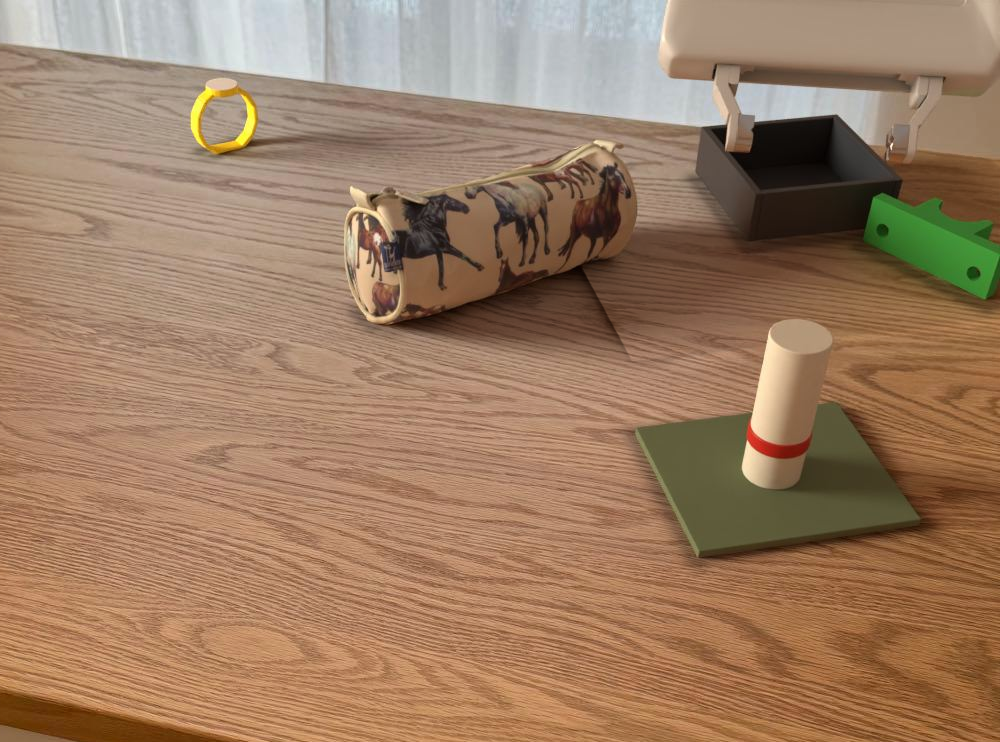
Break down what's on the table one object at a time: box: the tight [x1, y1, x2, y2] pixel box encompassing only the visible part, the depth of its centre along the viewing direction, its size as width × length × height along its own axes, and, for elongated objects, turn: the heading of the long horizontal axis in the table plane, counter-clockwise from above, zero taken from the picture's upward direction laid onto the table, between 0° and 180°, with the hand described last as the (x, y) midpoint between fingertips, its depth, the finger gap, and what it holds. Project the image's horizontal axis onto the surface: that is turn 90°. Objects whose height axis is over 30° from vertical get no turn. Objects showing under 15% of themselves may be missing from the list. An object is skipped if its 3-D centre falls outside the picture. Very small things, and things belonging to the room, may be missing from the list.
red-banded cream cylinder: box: [742, 318, 834, 490], centre depth 74 cm, size 4×4×10 cm
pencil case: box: [343, 139, 638, 326], centre depth 91 cm, size 22×8×10 cm, turn 120°
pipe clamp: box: [862, 193, 1000, 301], centre depth 95 cm, size 11×4×5 cm, turn 39°
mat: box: [634, 401, 922, 559], centre depth 77 cm, size 14×12×1 cm
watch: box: [190, 77, 259, 155], centre depth 109 cm, size 6×3×6 cm, turn 127°
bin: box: [695, 114, 904, 242], centre depth 102 cm, size 12×12×5 cm
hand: (818, 154), depth 74 cm, fingers open, 8 cm apart
